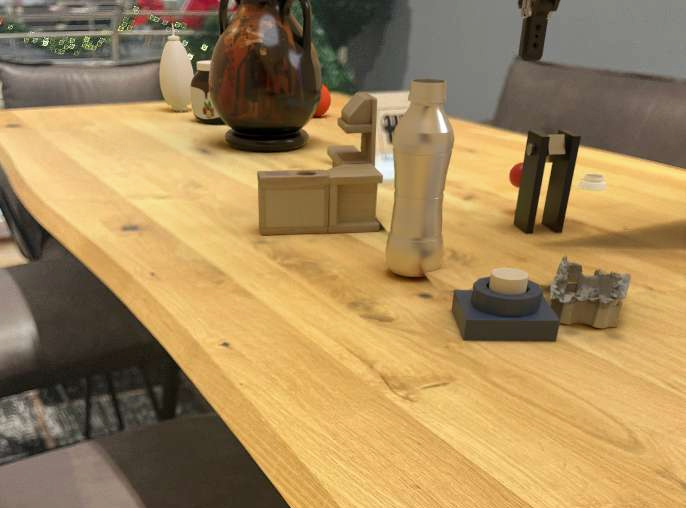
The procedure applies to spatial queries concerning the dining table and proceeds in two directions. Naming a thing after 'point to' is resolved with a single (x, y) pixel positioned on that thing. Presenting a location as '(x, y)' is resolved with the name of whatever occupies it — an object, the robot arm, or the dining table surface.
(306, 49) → the amphora vase
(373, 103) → the toy kitchen set
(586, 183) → the lidless jar
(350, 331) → the dining table surface
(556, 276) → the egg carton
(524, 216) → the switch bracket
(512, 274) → the button
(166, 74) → the sauce bottle
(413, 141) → the plastic bottle
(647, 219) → the dining table surface
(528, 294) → the control block
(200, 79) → the spread jar
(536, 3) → the robot arm
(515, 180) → the lever
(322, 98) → the clementine
